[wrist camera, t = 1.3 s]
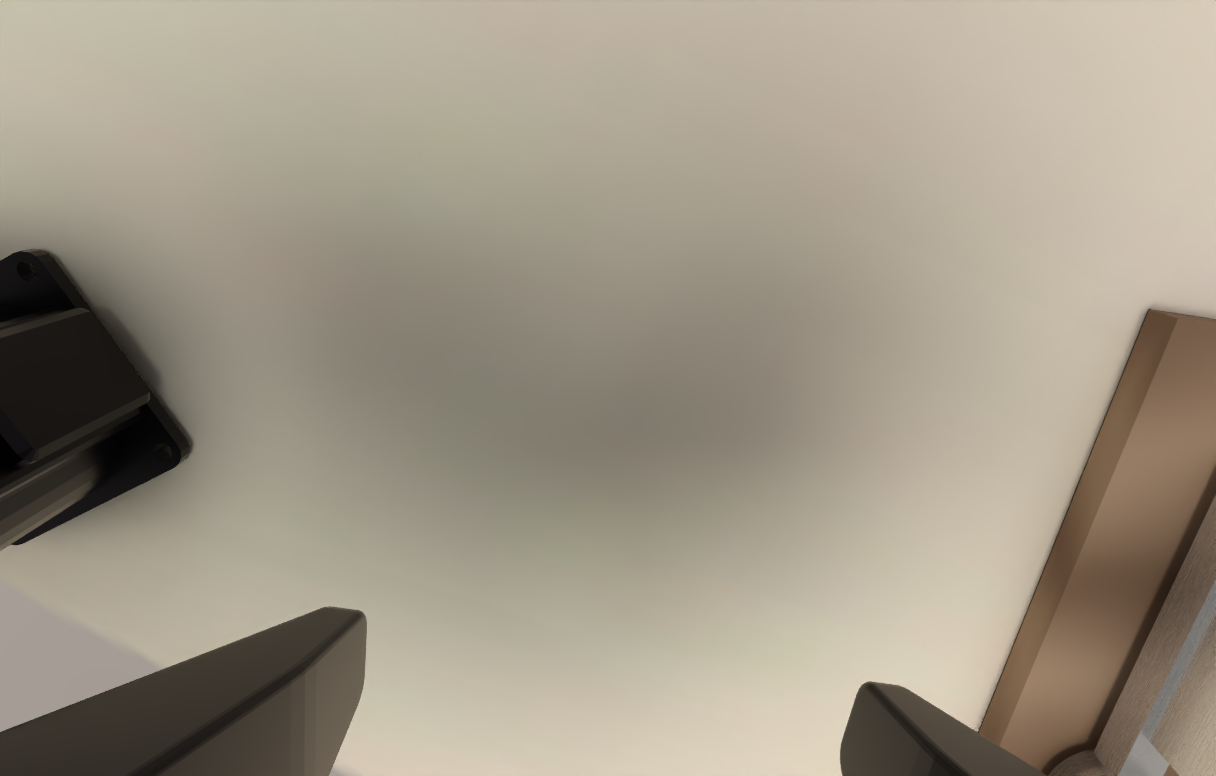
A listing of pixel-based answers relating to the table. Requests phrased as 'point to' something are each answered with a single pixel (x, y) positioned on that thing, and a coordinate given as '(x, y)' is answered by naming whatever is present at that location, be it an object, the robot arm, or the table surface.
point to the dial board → (1115, 548)
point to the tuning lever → (1167, 684)
